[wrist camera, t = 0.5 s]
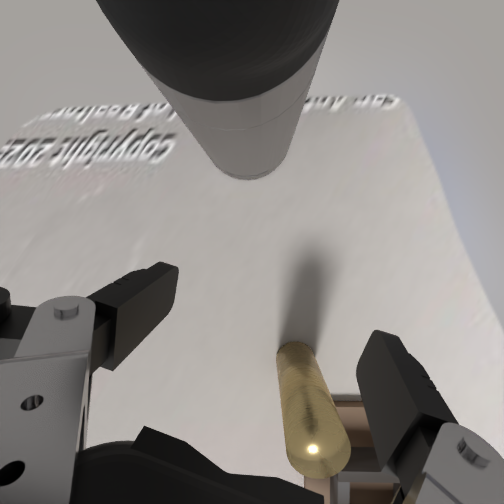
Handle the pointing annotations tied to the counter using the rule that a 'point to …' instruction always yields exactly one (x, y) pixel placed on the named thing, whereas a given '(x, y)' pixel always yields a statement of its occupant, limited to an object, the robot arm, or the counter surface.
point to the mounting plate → (356, 465)
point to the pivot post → (309, 415)
